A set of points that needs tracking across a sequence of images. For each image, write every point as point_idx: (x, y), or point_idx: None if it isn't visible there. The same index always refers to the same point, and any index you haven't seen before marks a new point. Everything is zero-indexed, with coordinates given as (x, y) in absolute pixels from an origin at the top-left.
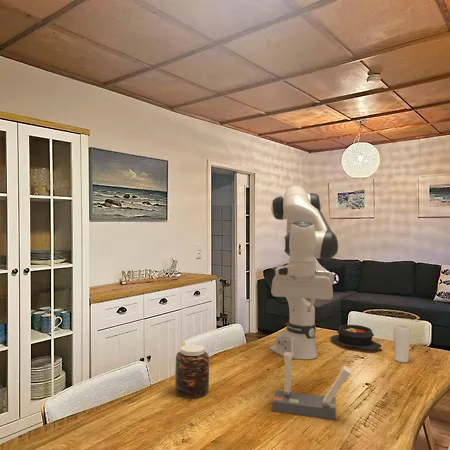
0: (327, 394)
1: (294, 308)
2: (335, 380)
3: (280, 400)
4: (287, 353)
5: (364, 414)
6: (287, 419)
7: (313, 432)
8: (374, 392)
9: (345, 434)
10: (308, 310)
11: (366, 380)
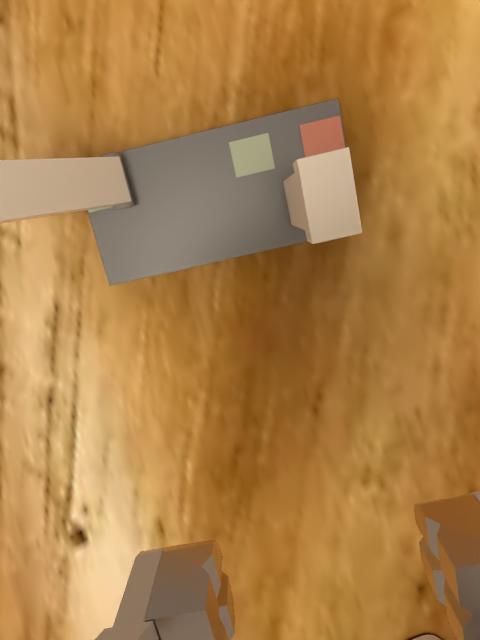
0: (96, 177)
1: (457, 523)
2: (44, 213)
3: (306, 125)
4: (336, 200)
5: (12, 272)
6: (250, 69)
7: (127, 16)
8: (34, 474)
9: (21, 69)
10: (184, 558)
11: (89, 564)
